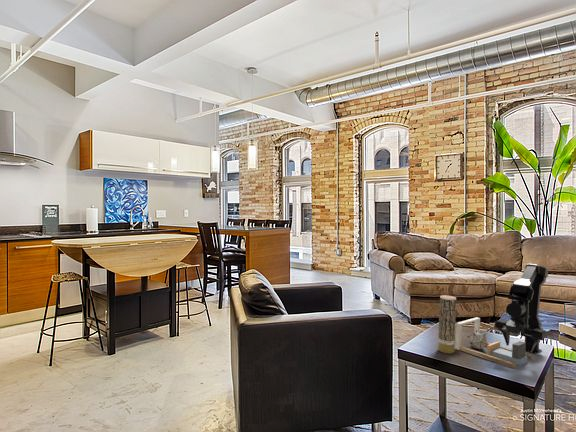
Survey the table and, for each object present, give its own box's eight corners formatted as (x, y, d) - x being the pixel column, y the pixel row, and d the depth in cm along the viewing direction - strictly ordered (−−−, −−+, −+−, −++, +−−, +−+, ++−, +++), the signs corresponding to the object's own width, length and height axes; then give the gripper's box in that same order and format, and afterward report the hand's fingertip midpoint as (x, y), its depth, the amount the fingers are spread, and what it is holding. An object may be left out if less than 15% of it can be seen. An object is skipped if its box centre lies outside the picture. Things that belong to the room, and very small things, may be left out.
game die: (474, 355, 178) (471, 334, 184) (493, 353, 173) (489, 332, 179) (466, 349, 173) (463, 328, 179) (486, 347, 168) (482, 325, 174)
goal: (475, 341, 186) (476, 317, 186) (479, 342, 185) (480, 318, 184) (455, 348, 175) (456, 322, 175) (459, 350, 174) (460, 323, 174)
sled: (497, 351, 174) (498, 333, 173) (528, 361, 163) (529, 342, 163) (486, 355, 168) (487, 337, 168) (518, 366, 157) (519, 346, 157)
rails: (480, 343, 184) (480, 339, 184) (532, 359, 165) (532, 355, 165) (460, 350, 174) (460, 347, 174) (513, 368, 155) (514, 364, 155)
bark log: (455, 354, 168) (457, 299, 167) (439, 353, 169) (441, 298, 169) (452, 349, 175) (454, 296, 174) (436, 347, 176) (438, 294, 175)
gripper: (489, 310, 164) (487, 345, 165) (537, 321, 149) (535, 360, 150) (501, 306, 171) (499, 340, 171) (548, 317, 156) (546, 354, 156)
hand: (519, 348), depth 162 cm, fingers open, 9 cm apart
